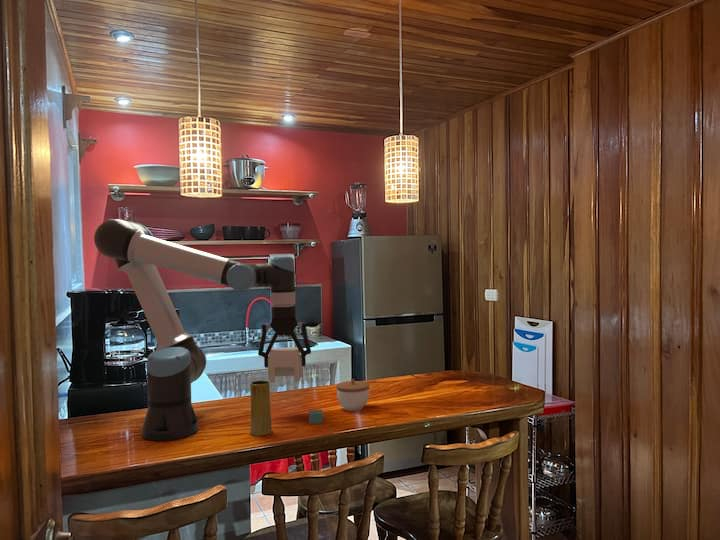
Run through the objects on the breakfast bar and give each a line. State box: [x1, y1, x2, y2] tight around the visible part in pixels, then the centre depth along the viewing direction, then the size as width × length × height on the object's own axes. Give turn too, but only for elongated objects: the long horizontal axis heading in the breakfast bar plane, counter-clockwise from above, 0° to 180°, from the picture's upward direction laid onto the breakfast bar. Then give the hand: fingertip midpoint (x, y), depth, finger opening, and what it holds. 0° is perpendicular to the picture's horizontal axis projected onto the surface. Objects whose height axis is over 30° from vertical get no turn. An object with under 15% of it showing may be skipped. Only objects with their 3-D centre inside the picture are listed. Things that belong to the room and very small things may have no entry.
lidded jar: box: [335, 378, 370, 412], centre depth 168 cm, size 11×11×9 cm
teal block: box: [308, 409, 324, 425], centre depth 155 cm, size 4×4×3 cm
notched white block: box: [268, 346, 301, 383], centre depth 162 cm, size 9×9×9 cm
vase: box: [249, 379, 273, 437], centre depth 146 cm, size 6×6×14 cm
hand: (285, 377), depth 162 cm, fingers closed on notched white block, 9 cm apart
